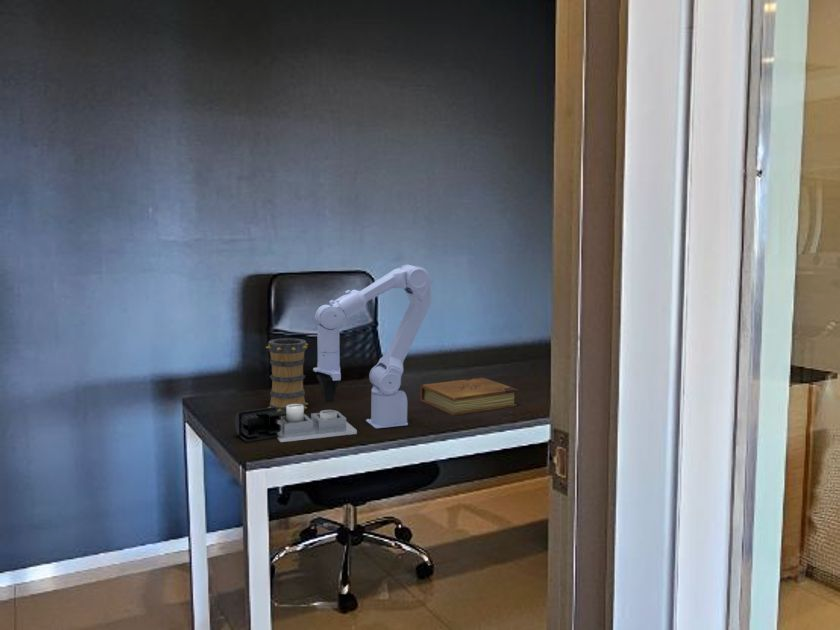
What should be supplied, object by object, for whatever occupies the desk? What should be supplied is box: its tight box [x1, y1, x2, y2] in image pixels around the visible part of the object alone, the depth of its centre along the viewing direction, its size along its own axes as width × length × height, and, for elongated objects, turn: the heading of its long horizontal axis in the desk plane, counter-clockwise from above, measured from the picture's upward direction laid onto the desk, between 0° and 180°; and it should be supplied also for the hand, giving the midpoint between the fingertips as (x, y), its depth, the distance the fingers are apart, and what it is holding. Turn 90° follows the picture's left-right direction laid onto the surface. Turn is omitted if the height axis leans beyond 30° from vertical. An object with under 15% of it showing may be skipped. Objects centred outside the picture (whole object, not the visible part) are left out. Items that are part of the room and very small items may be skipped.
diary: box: [419, 377, 519, 416], centre depth 224 cm, size 23×19×6 cm
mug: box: [265, 337, 309, 415], centre depth 214 cm, size 13×17×20 cm
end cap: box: [234, 406, 282, 443], centre depth 187 cm, size 10×7×7 cm
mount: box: [275, 410, 358, 443], centre depth 193 cm, size 20×14×4 cm
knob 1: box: [285, 404, 305, 423], centre depth 191 cm, size 4×4×4 cm
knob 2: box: [319, 409, 338, 419], centre depth 195 cm, size 4×4×4 cm
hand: (328, 401), depth 194 cm, fingers closed
